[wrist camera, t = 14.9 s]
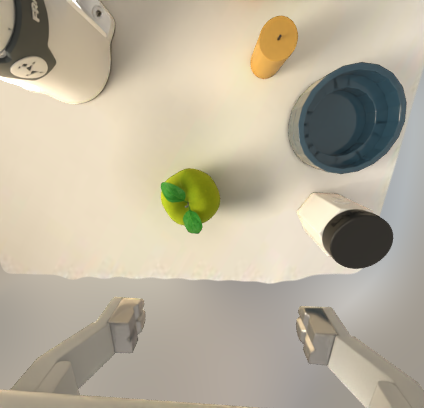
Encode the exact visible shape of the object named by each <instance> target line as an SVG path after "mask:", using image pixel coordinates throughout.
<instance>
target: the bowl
mask: <svg viewBox="0 0 424 408" xmlns="http://www.w3.org/2000/svg"><path fill="white" fill-rule="evenodd" d="M406 103H407V102H406V98H405V94H404V90H403V87H402V85H401V84H400V82H399V81H398V79H397V78H396V77H395V75H394V74H393V73H392V72H390V71H389V70H387V69H385V68H384V67H382V66H380V65H378V64H371V63H364V62H359V63H355V64H350V65H346V66H342V67H340V68H339V69H337V70H335V71H333V72H332V73H330V74H328V75H326V76H325V77H323V78H321V79H320V80H318V81H316V82H315V83H313V84H312V85H311V86H310V87H309V88H308V89H307V90H306V91H305V92H304V93H303V94H302V95H301V96H300V97H299V99H298V101H297V103H296V104H295V106H294V108H293V110H292V112H291V117H290V121H289V125H288V128H289V141H290V143H291V146H292V148H293V151H294V153H295V154H296V155H297V156H298V157H299V158H300V159H301V160H302V162H304V163H306V164H308V165H310V166H311V167H313V168H316V169H320V170H323V171H326V172H331V173H339V174H344V173H350V172H356V171H359V170H361V169H364V168H366V167H368V166H370V165H372V164H374V163H375V162H376V161H378V160H379V159H380V158H381V157H383V156H384V155H385V154H386V153H387V152H388V151H389V149H390V148H391V147H392V145H393V144H394V143H395V141H396V140H397V139H398V137H399V135H400V132H401V130H402V127H403V125H404V122H405V114H406Z"/></svg>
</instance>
